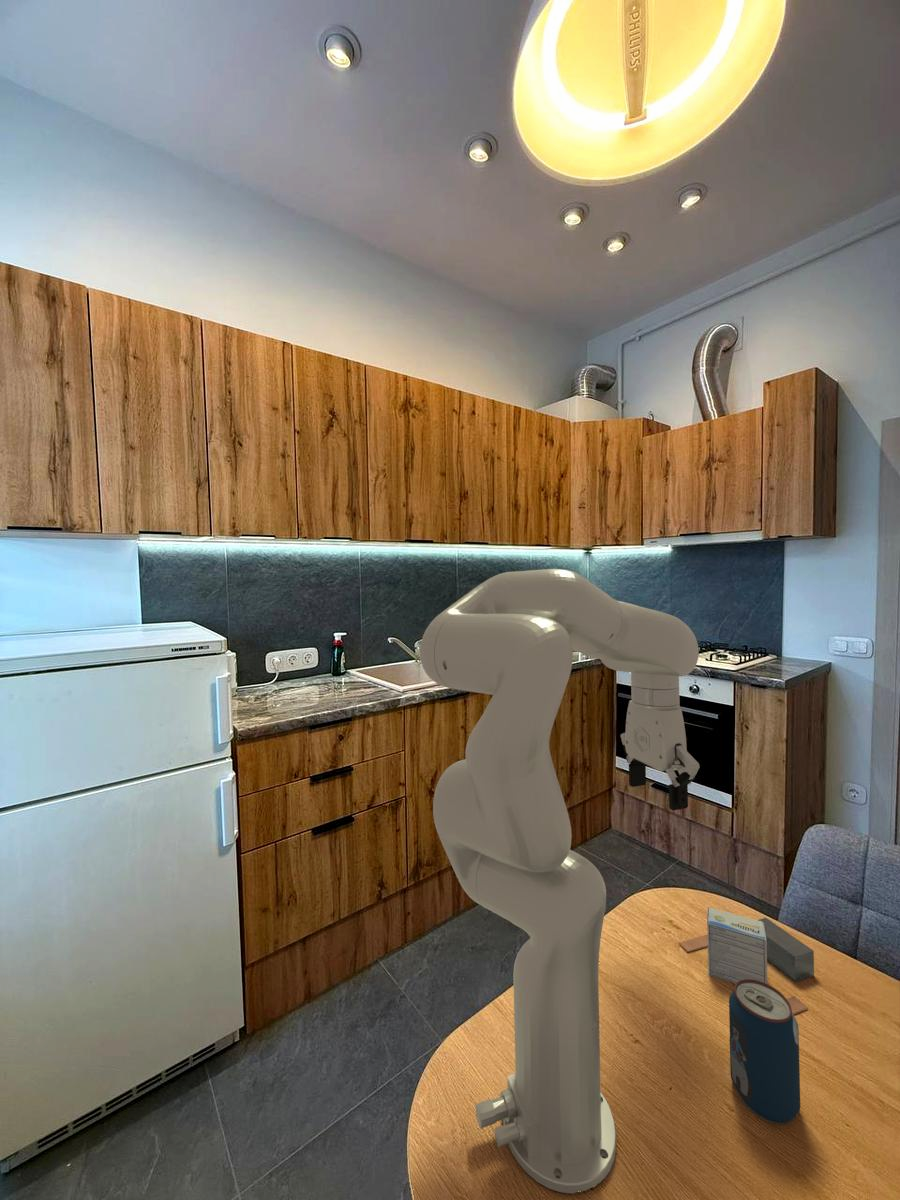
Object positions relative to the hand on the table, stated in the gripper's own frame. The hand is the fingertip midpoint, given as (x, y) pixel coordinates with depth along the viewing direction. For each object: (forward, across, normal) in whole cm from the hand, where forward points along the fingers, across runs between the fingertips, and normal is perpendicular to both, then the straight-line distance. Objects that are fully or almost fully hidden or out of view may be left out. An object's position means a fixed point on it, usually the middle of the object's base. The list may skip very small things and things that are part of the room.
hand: (656, 796), depth 79 cm
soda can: (+26, +23, -5) cm, 35 cm away
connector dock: (+26, +8, +11) cm, 30 cm away
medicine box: (+27, +8, +8) cm, 29 cm away
